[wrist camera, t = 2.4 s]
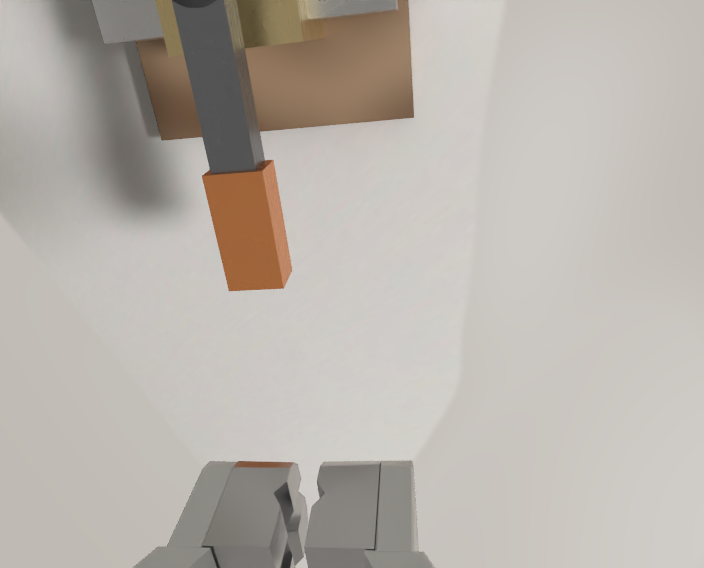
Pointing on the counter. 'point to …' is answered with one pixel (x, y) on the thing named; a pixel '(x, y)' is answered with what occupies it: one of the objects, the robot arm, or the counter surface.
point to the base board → (302, 77)
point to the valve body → (254, 13)
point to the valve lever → (233, 148)
